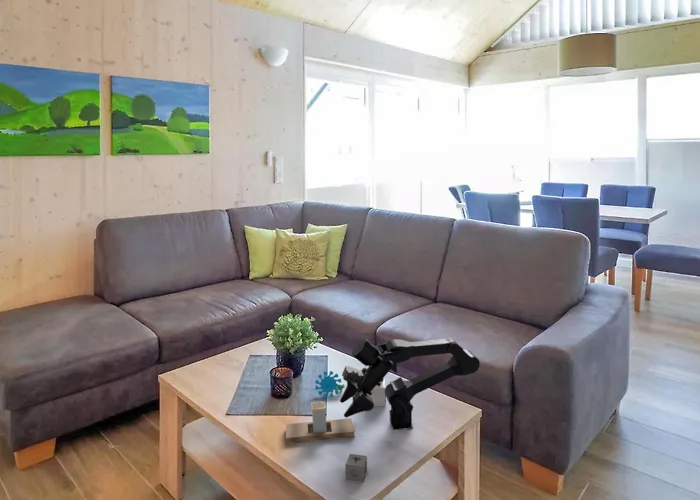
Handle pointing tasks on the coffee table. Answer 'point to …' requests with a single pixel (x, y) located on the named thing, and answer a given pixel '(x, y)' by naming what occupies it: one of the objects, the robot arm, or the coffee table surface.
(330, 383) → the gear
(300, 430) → the wooden socket base
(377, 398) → the medicine bottle
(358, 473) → the grey marked cube
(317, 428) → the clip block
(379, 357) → the robot arm
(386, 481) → the coffee table surface
